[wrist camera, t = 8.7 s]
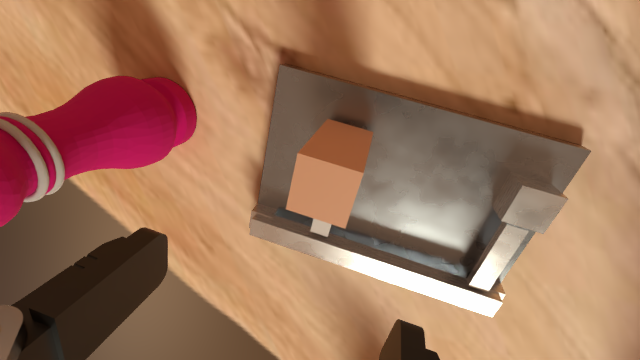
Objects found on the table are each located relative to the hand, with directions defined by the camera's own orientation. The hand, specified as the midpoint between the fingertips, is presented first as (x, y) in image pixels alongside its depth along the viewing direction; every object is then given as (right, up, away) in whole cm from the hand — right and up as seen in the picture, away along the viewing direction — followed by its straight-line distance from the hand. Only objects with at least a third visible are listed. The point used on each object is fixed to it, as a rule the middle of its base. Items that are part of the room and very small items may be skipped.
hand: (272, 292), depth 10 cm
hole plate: (+8, +3, +17) cm, 19 cm away
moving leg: (+3, +4, +16) cm, 16 cm away
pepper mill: (-13, +10, +19) cm, 25 cm away
